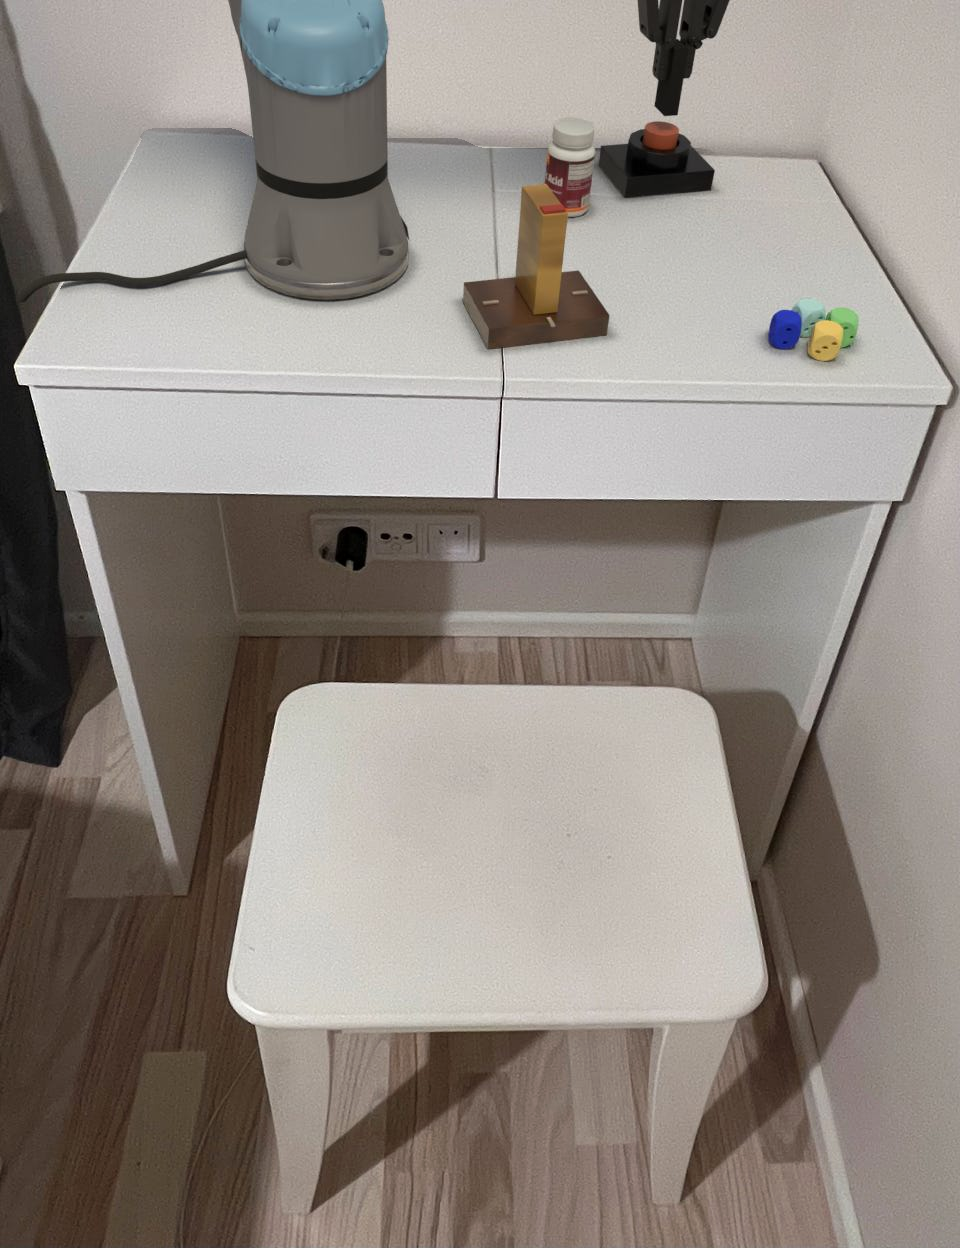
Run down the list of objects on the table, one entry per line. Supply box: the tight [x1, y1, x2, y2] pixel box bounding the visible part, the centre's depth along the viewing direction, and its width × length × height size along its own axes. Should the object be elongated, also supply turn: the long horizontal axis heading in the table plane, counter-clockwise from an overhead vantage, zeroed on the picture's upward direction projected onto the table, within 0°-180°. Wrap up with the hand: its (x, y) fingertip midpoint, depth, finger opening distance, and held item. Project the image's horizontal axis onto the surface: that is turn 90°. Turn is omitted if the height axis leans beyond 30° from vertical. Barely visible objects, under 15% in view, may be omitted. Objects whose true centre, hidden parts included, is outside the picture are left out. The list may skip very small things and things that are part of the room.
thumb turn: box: [514, 183, 569, 315], centre depth 95 cm, size 6×2×9 cm, turn 16°
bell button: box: [643, 120, 680, 150], centre depth 118 cm, size 4×4×2 cm
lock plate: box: [462, 270, 610, 350], centre depth 99 cm, size 11×10×2 cm
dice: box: [768, 298, 859, 362], centre depth 98 cm, size 8×3×6 cm
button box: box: [598, 128, 716, 199], centre depth 120 cm, size 10×8×4 cm
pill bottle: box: [544, 117, 596, 218], centre depth 112 cm, size 5×5×8 cm
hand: (665, 110), depth 116 cm, fingers closed
